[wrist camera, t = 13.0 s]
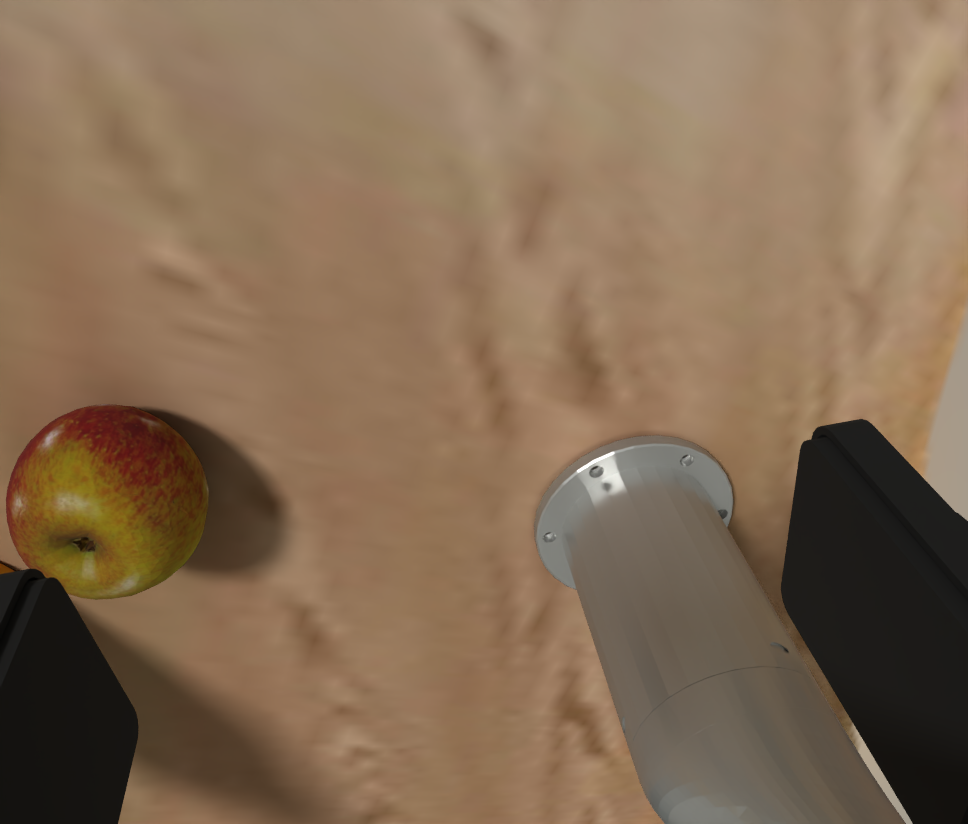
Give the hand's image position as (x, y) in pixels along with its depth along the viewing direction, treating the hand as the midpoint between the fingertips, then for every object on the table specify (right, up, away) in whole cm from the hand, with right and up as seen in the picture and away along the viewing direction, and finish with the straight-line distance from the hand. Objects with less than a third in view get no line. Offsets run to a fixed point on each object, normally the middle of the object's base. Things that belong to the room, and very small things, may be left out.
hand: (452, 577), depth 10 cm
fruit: (-19, 0, +33) cm, 38 cm away
